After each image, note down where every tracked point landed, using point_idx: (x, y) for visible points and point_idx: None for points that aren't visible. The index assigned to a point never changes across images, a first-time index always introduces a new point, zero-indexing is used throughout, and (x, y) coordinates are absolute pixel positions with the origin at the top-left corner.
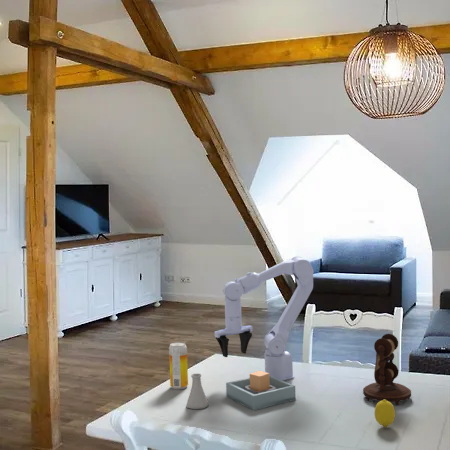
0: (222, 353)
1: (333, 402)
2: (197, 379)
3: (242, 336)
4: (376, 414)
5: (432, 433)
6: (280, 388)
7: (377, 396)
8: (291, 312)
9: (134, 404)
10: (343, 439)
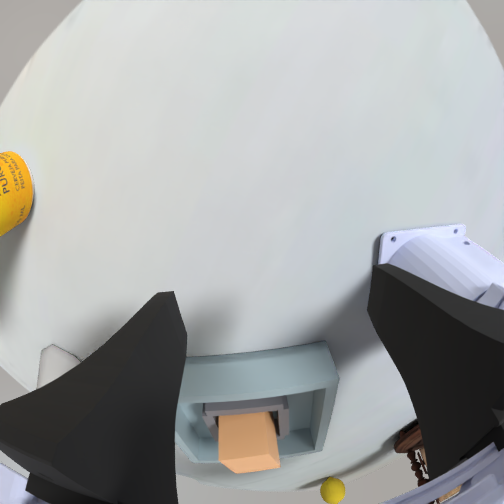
0: (146, 306)
1: (359, 435)
2: None
3: (462, 404)
4: (321, 493)
5: (350, 479)
6: (279, 456)
7: (396, 451)
8: None
9: None
10: (264, 487)
